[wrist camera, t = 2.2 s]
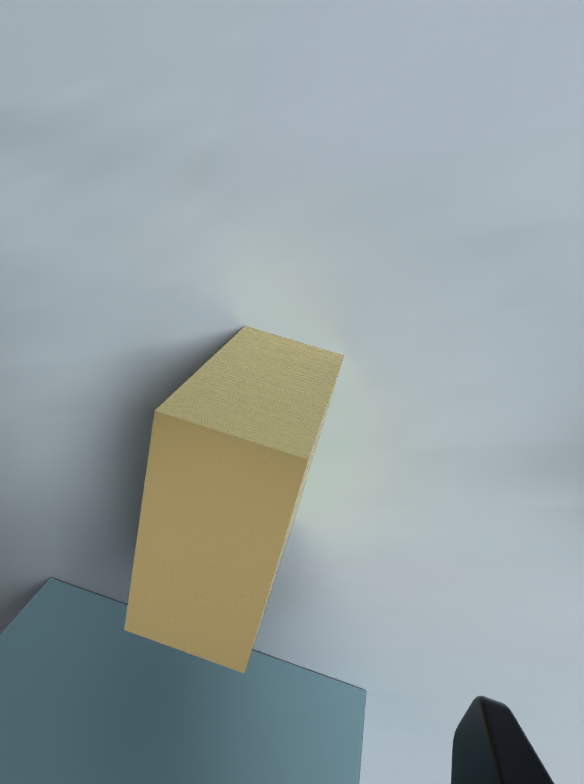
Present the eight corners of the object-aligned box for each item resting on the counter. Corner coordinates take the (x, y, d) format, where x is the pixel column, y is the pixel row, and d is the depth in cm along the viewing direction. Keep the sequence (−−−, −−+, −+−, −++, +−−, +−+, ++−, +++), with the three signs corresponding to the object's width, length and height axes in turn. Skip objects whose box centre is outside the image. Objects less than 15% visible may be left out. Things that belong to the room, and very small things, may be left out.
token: (344, 355, 12) (307, 459, 8) (294, 517, 14) (244, 673, 10) (245, 325, 12) (154, 410, 8) (211, 489, 15) (123, 629, 10)
